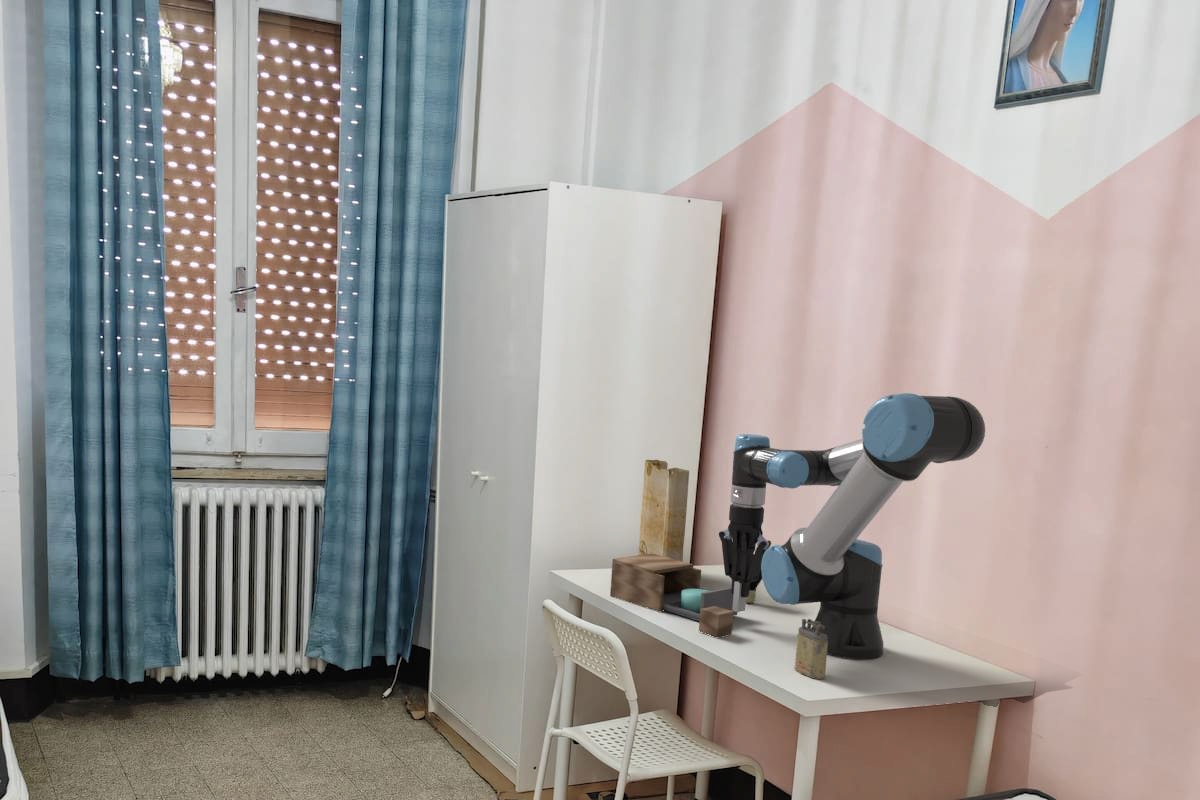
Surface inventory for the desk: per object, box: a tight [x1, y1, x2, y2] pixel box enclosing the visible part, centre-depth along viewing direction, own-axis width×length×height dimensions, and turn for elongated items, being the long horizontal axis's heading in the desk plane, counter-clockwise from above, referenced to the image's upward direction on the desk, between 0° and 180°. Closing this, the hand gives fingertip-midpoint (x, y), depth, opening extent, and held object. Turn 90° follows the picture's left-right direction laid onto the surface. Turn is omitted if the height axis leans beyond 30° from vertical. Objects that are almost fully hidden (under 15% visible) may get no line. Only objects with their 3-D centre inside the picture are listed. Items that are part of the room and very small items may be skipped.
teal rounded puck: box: [680, 588, 710, 613], centre depth 224 cm, size 8×8×4 cm
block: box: [698, 606, 734, 638], centre depth 209 cm, size 5×5×5 cm
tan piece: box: [638, 459, 690, 562], centre depth 258 cm, size 23×6×30 cm, turn 13°
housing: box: [609, 553, 702, 612], centre depth 234 cm, size 16×14×9 cm
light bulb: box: [746, 555, 763, 604], centre depth 237 cm, size 7×7×12 cm
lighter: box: [793, 618, 828, 680], centre depth 186 cm, size 7×4×10 cm, turn 28°
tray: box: [662, 586, 739, 622], centre depth 226 cm, size 18×13×6 cm
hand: (738, 610), depth 216 cm, fingers closed
